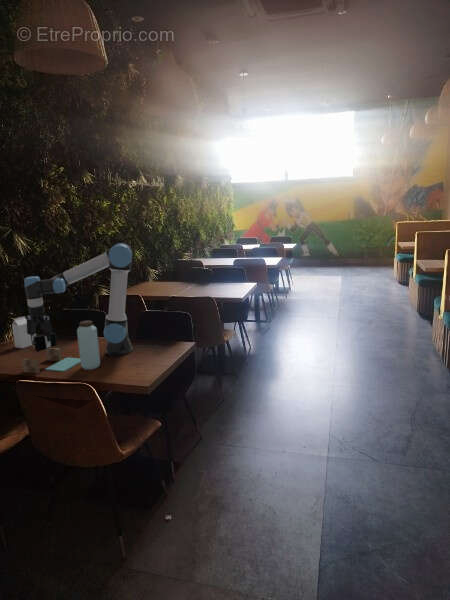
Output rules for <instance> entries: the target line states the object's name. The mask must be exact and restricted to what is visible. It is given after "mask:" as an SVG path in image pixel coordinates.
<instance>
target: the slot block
mask: <svg viewBox="0 0 450 600" xmlns="http://www.w3.org/2000/svg"><path fill="white" fill-rule="evenodd" d="M44 351H45V358H46V361H51V362H52V361H53V362H59V361H61V360H63V359H62V357H63V356H62V351H61V348H57V347H50V348H47V349H45V350H44ZM21 366H22V371H23V373H31V374H39V373H40V366H39V359H35V358H25V357H24V358H21Z"/></svg>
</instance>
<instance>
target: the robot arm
mask: <svg viewBox="0 0 450 600" xmlns="http://www.w3.org/2000/svg"><path fill="white" fill-rule="evenodd" d="M104 251H105V252H104V253H102V254H100V255H97V256H95V257H93V258H92V259H89V260H87V261H85V262H82V263H80V264H79V265H76V266H74V267H71V268H70V269H68V270H65V271H63V272H61V273H59V274H56V275H54V276H53V277H51V278H49V279H41V278H40V277H39V276H37V275H36V276H33V275H32V276H28V277H25V278H24V279H23V280H24V290H25V294H26V301H27V306H28V314H29V315H27V316H25V318H26V320H27V334H30V335H31V341H32V342H33V340H34V337H35V336H37V334H36V330H37V324H39V325H40V327H41V329H42V330H43V334H45V342H46V348H48V347H50V346H51V343H50V341H51V337H50V335H51V334H53V332H54V330H53V327H52V323H51V317H50V315H48V316H47V315H45V306H44V301H43V300H44V299H43V295H47V294H49V295H50V294H60V293H64V292H65V291H66V287H67V286H69V285H71V284H73V283H76V282H77V281H80V280H83V279H85V278H87V277H89V276H92V275H93V274H95V273H97V272H99V271H102V270H104V269H106V268H108V270H110V271H111V275H110V290H109V302H108V303H109V304H108V314H106V316H105V321H104V329H103V337H104V339H105V340H106V341H107V344H106V348H105V352H106V355H109V356H124V355H126V354H129V353H132V352H133V346H132V343H131V341H130V339H129V332H128V331H129V330H128V317H127V314H126V302H127V301H126V300H127V290H128V289H127V288H128V275H129V272H131V271H132V261H133V259H132V258H133V249H132V247H131V246H130V245H129V244H127V243H125V242H118V243H116V244H114V245H113V246H112V247H110V248H109V249H107V250H104ZM32 346H33V348H35V346H34V345H33V344H32ZM50 348H51V347H50Z"/></svg>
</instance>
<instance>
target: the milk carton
mask: <svg viewBox="0 0 450 600" xmlns="http://www.w3.org/2000/svg"><path fill="white" fill-rule="evenodd" d="M11 326H12V327H11V328H12V333H13V340H14V341H13V342H14V347H15V348H17V349H25V348H28V347H31V346H33V341H32V340H31V335H30V334H27V320H26V316H25V315H24V316H20V317H15V318H13V322H12V323H11Z"/></svg>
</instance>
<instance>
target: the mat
mask: <svg viewBox="0 0 450 600" xmlns="http://www.w3.org/2000/svg"><path fill="white" fill-rule="evenodd" d="M78 364H81V362H80V357H66V358H64V359H62V360H61V361H56V362H55V363H54V364H51V365H49V366H48V367H46V368H45V371H52V372H63V373H65V372H66V371H68V370H70V369H72V368H73V367H75V366H77V365H78Z"/></svg>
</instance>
